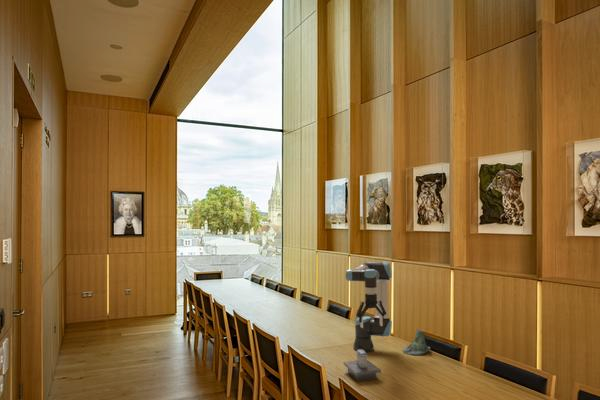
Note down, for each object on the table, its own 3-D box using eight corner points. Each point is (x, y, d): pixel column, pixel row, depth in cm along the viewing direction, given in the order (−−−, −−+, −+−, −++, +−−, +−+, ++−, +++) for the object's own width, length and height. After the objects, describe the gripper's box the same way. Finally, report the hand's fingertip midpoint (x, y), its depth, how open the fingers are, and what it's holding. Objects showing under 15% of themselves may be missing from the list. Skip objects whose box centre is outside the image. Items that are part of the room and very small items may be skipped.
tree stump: (396, 349, 312) (401, 325, 315) (420, 354, 317) (424, 330, 320) (409, 356, 295) (413, 330, 298) (434, 360, 299) (438, 335, 302)
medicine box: (356, 363, 263) (356, 349, 263) (363, 363, 263) (363, 349, 264) (360, 368, 255) (359, 353, 256) (367, 367, 256) (367, 353, 256)
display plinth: (343, 371, 266) (343, 361, 267) (366, 368, 271) (366, 359, 271) (356, 383, 247) (356, 372, 247) (380, 380, 251) (380, 369, 252)
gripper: (355, 295, 264) (355, 329, 264) (391, 293, 271) (391, 326, 270) (350, 293, 272) (351, 326, 271) (385, 291, 278) (386, 323, 277)
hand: (371, 326), depth 271 cm, fingers open, 13 cm apart
